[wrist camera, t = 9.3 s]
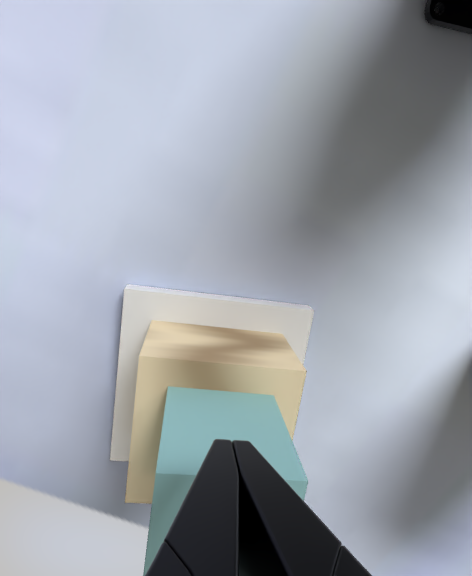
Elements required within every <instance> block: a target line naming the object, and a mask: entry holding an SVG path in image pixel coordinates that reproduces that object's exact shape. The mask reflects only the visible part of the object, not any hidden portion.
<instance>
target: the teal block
mask: <svg viewBox="0 0 472 576" xmlns="http://www.w3.org/2000/svg"><path fill="white" fill-rule="evenodd" d="M215 439H227V440H231V442H232V441H233V440H246V441H249V442H251V443H252V444H253V446H254V447H255V448H256V449H257V450H258V451H259V452H260V453H261V454H262V456H263V457H264V458H265V459H266V460H267V461H268V462H269V463H270V464H271V465H272V467H273V468H274V469H275V470H276V471H277V472H278V473H279V474H280V475H281V477H282V478H283V479H284V480H285V481H286V482H287V483H288V484H289V485H290V486H291V488H292V489H293V490H294V491H295V492H296V493H297V494H298V495H299V496H300V498H301V499H302V500H303V501H304V497H305V493H306V488H307V484H308V480H307V477H306V474H305V472H304V469H303V467H302V464H301V462H300V459H299V457H298V454H297V452H296V449H295V447H294V444H293V442H292V439H291V437H290V434H289V432H288V429H287V427H286V424H285V422H284V419H283V417H282V414H281V412H280V409H279V407H278V404H277V402H276V399H275V397H274V395H265V394H253V393H241V392H230V391H218V390H206V389H194V388H182V387H170V386H168V390H167V397H166V404H165V411H164V418H163V425H162V432H161V439H160V446H159V453H158V460H157V467H156V474H155V483H154V491H153V499H152V508H151V516H150V524H149V533H148V541H147V549H146V558H145V566H144V575H143V576H145V575H146V573H147V571H148V569H149V567H150V565H151V564H152V562H153V560H154V558H155V556H156V554H157V552H158V550H159V548H160V546H161V544H162V543H163V542H164V539H165V537H166V535H167V533H168V531H169V529H170V527H171V525H172V523H173V521H174V519H175V517H176V515H177V513H178V511H179V509H180V507H181V505H182V503H183V501H184V499H185V497H186V495H187V493H188V491H189V489H190V487H191V485H192V483H193V481H194V479H195V477H196V475H197V473H198V471H199V469H200V467H201V465H202V463H203V461H204V459H205V457H206V455H207V453H208V451H209V449H210V447H211V445H212V443H213V441H214V440H215Z"/></svg>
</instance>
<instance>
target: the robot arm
mask: <svg viewBox="0 0 472 576" xmlns="http://www.w3.org/2000/svg"><path fill="white" fill-rule="evenodd" d="M435 7H437V8H438V9H439V15H438V14H436V13H435V11H434V9H435ZM425 19H426V20H427V22H428V23H430V24H433V25H437V26H441V27H445V28H450V29H454V30H458V31H462V32H467V33H471V34H472V0H427V3H426V7H425ZM341 545H342V544H341V542H340V541H339V540H338V538H337V537H336V536H335V535H334V534H333V533H332V532H331V531H330V530H329V529H328V527H327V526H326V525H325V524H324V523H323V522H322V521H321V520H320V519H319V517H318V516H317V515H316V514H315V513H314V512H313V511H312V510H311V509H310V507H309V506H308V505H307V504H306V503H305V502H304V501H303V500H302V499H301V498H300V496H299V495H298V494H297V493H296V492H295V491H294V490H293V489H292V488H291V486H290V485H289V484H288V483H287V482H286V481H285V480H284V479H283V478H282V477H281V475H280V474H279V473H278V472H277V471H276V470H275V469H274V468H273V467H272V465H271V464H270V463H269V462H268V461H267V460H266V459H265V458H264V457H263V456H262V454H261V453H260V452H259V451H258V450H257V449H256V448H255V447H254V446H253V444H252V443H251V442H249V441H246V440H233V441H232V442H231V440H227V439H215V440H214V441H213V443H212V445H211V447H210V449H209V451H208V453H207V455H206V457H205V459H204V461H203V463H202V465H201V467H200V469H199V471H198V473H197V475H196V477H195V479H194V481H193V483H192V485H191V487H190V489H189V491H188V493H187V495H186V497H185V499H184V501H183V503H182V505H181V507H180V509H179V511H178V513H177V515H176V517H175V519H174V521H173V523H172V525H171V527H170V529H169V531H168V533H167V535H166V537H165V539H164V542H163V543H162V544H161V546H160V548H159V550H158V552H157V554H156V556H155V558H154V560H153V562H152V564H151V565H150V567H149V569H148V571H147V573H146V575H145V576H372V575H371V574H370V573H369V572H368V571H367V570H366V569H365V568H364V567H363V566H362V565H361V564H360V562H359V561H358V560H357V559H356V558H355V557H354V556H353V555H352V554H351V553H350V552H349V550H348V549H347V548H346V547H345V546H341Z"/></svg>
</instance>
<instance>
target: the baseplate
mask: <svg viewBox="0 0 472 576" xmlns="http://www.w3.org/2000/svg"><path fill="white" fill-rule="evenodd" d="M313 314H314V310H313V309H312V308H311V307H310V306H309V305H301V304H293V303H284V302H276V301H267V300H259V299H250V298H242V297H233V296H225V295H216V294H208V293H199V292H191V291H182V290H173V289H165V288H156V287H148V286H139V285H131V284H128V285H127V286H126V287H125V288H124V298H123V310H122V322H121V334H120V346H119V358H118V369H117V381H116V393H115V405H114V417H113V429H112V440H111V452H110V461H129V454H130V444H131V434H132V423H133V413H134V403H135V393H136V382H137V372H138V362H139V355H140V352H141V349H142V346H143V343H144V340H145V338H146V335H147V332H148V329H149V326H150V323H151V321H152V320H156V321H166V322H175V323H185V324H194V325H204V326H213V327H223V328H232V329H242V330H251V331H261V332H270V333H280V334H283V335H284V337H285V338H286V340H287V342H288V343H289V345H290V346H291V348H292V349H293V351H294V352H295V354H296V356H297V357H298V359H299V360H300V362H301V363H302V365H303V364H304V359H305V354H306V349H307V344H308V339H309V334H310V329H311V324H312V319H313Z"/></svg>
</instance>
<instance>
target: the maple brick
mask: <svg viewBox="0 0 472 576" xmlns="http://www.w3.org/2000/svg"><path fill="white" fill-rule="evenodd" d="M306 372H307V371H306V369H305V368H304V366H303V365H302V363H301V362H300V360H299V359H298V357H297V356H296V354H295V352H294V351H293V349H292V348H291V346H290V345H289V343H288V342H287V340H286V338H285V337H284V335H283V334H280V333H270V332H261V331H251V330H242V329H232V328H223V327H213V326H204V325H194V324H185V323H175V322H166V321H156V320H152V321H151V323H150V326H149V329H148V332H147V335H146V338H145V340H144V343H143V346H142V349H141V352H140V355H139V362H138V372H137V382H136V393H135V403H134V413H133V423H132V434H131V444H130V454H129V465H128V475H127V485H126V495H125V503H148V504H152V499H153V491H154V483H155V474H156V467H157V460H158V453H159V446H160V439H161V432H162V425H163V418H164V411H165V404H166V397H167V390H168V386H170V387H182V388H194V389H206V390H218V391H230V392H241V393H253V394H265V395H274V397H275V399H276V402H277V404H278V407H279V409H280V412H281V414H282V417H283V419H284V422H285V424H286V427H287V429H288V432H289V434H290V437H291V439H292V440H293V435H294V430H295V425H296V420H297V415H298V411H299V406H300V401H301V396H302V391H303V386H304V381H305V377H306Z"/></svg>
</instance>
